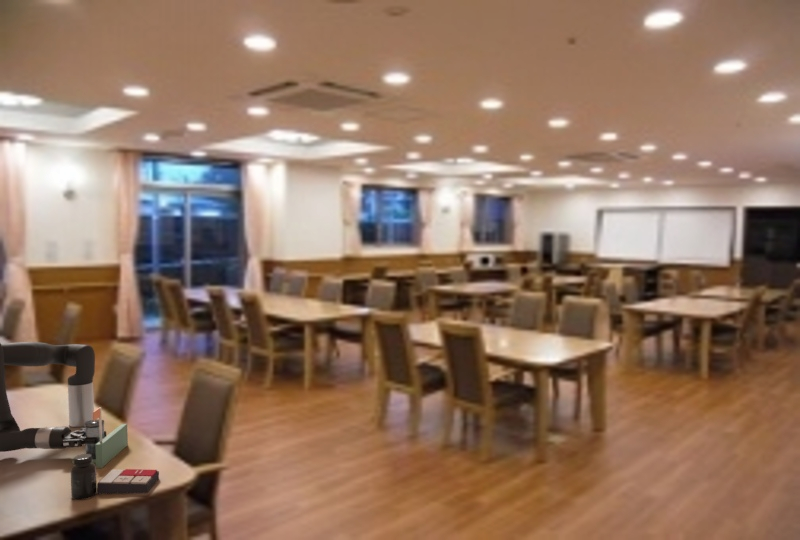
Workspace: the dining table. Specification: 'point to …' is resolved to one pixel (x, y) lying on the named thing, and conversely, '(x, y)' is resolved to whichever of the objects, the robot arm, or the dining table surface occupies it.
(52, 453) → the dining table surface
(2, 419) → the robot arm
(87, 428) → the slate canister
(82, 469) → the supplement bottle
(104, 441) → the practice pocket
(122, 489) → the calculator
